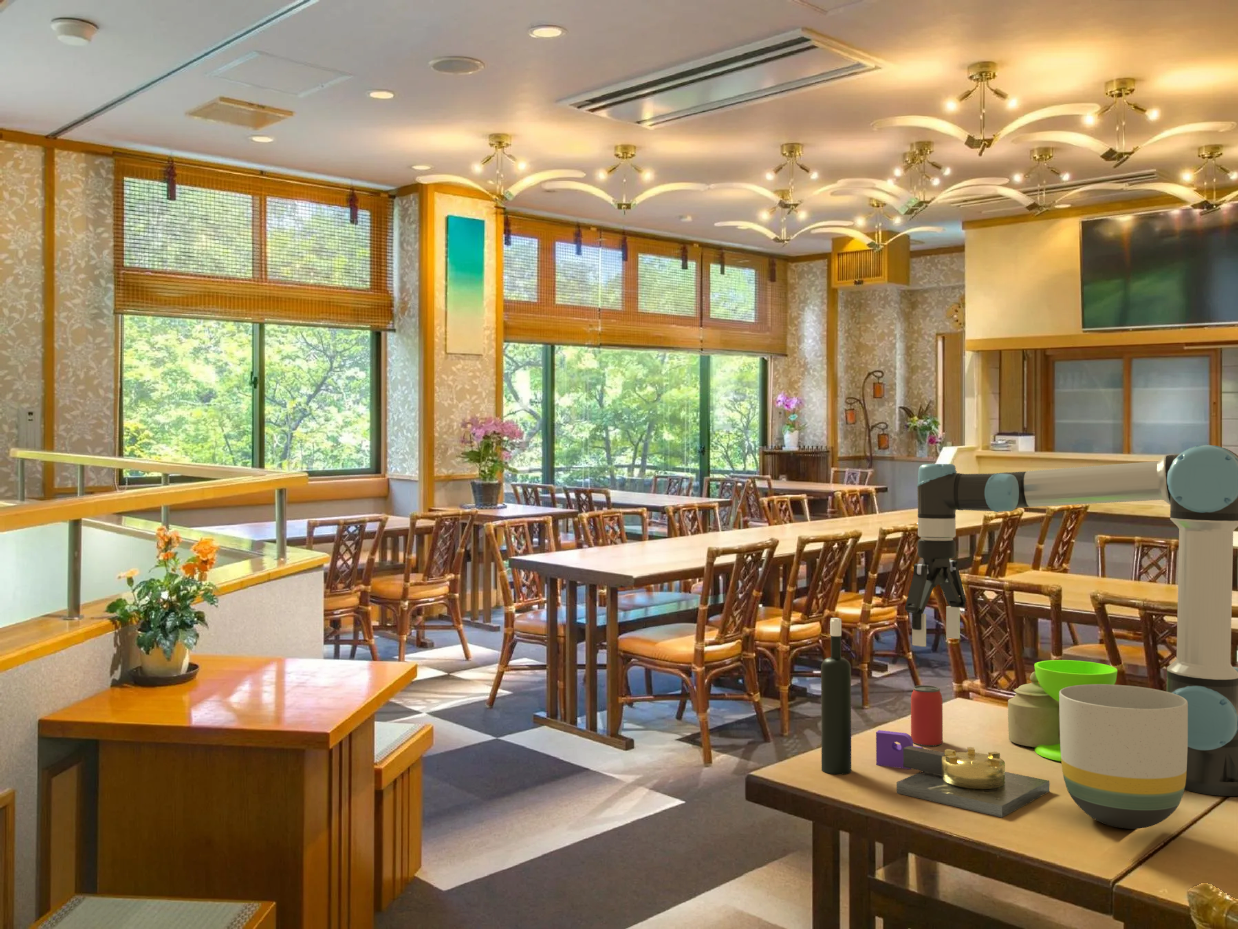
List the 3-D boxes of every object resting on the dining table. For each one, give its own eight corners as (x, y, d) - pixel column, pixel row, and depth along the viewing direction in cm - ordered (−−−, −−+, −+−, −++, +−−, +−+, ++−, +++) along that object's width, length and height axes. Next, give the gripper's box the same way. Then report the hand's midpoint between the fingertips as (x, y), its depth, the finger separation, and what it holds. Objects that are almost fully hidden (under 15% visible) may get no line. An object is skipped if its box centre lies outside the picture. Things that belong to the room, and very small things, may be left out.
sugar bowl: (1079, 738, 234) (1079, 669, 234) (1085, 751, 224) (1084, 678, 224) (1006, 733, 239) (1006, 665, 239) (1009, 745, 228) (1008, 674, 228)
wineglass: (1052, 739, 235) (1052, 657, 235) (1129, 753, 224) (1129, 666, 224) (1021, 754, 224) (1021, 667, 224) (1101, 769, 213) (1100, 677, 213)
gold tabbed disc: (1015, 779, 198) (1015, 754, 198) (988, 792, 190) (988, 766, 190) (920, 760, 211) (920, 736, 211) (891, 771, 203) (891, 747, 203)
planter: (1048, 829, 178) (1047, 700, 178) (1072, 798, 194) (1071, 680, 194) (1181, 852, 167) (1180, 714, 167) (1194, 817, 183) (1194, 692, 183)
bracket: (910, 771, 213) (910, 736, 213) (876, 766, 216) (876, 732, 216) (924, 756, 224) (924, 723, 224) (891, 752, 227) (890, 719, 227)
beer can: (944, 748, 229) (943, 691, 229) (912, 746, 230) (911, 690, 230) (941, 740, 235) (941, 685, 235) (910, 738, 236) (909, 684, 236)
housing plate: (1049, 791, 198) (1049, 779, 198) (1002, 817, 184) (1002, 805, 184) (948, 770, 212) (947, 759, 212) (896, 793, 198) (896, 781, 198)
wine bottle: (817, 772, 211) (817, 619, 211) (826, 765, 216) (825, 615, 216) (846, 776, 208) (846, 621, 208) (854, 768, 213) (854, 617, 213)
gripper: (950, 534, 233) (950, 633, 233) (887, 540, 215) (887, 646, 216) (982, 536, 227) (982, 637, 227) (921, 542, 210) (921, 651, 210)
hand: (936, 642), depth 222 cm, fingers open, 13 cm apart
